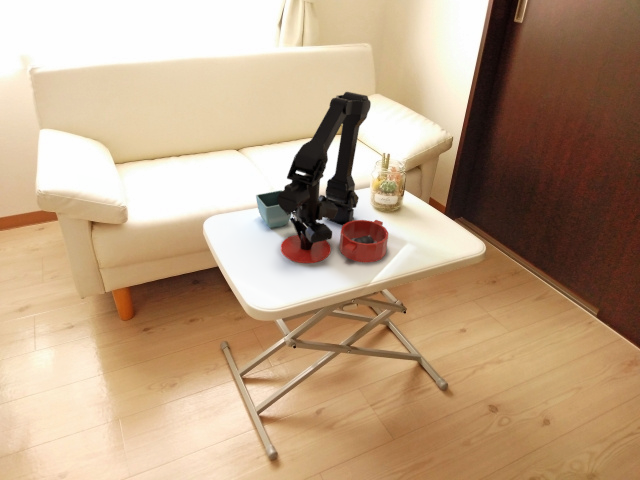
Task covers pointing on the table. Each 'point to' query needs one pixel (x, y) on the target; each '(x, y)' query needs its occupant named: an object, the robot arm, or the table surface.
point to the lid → (304, 250)
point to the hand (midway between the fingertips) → (305, 246)
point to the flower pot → (271, 209)
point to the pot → (362, 250)
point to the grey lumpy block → (365, 240)
